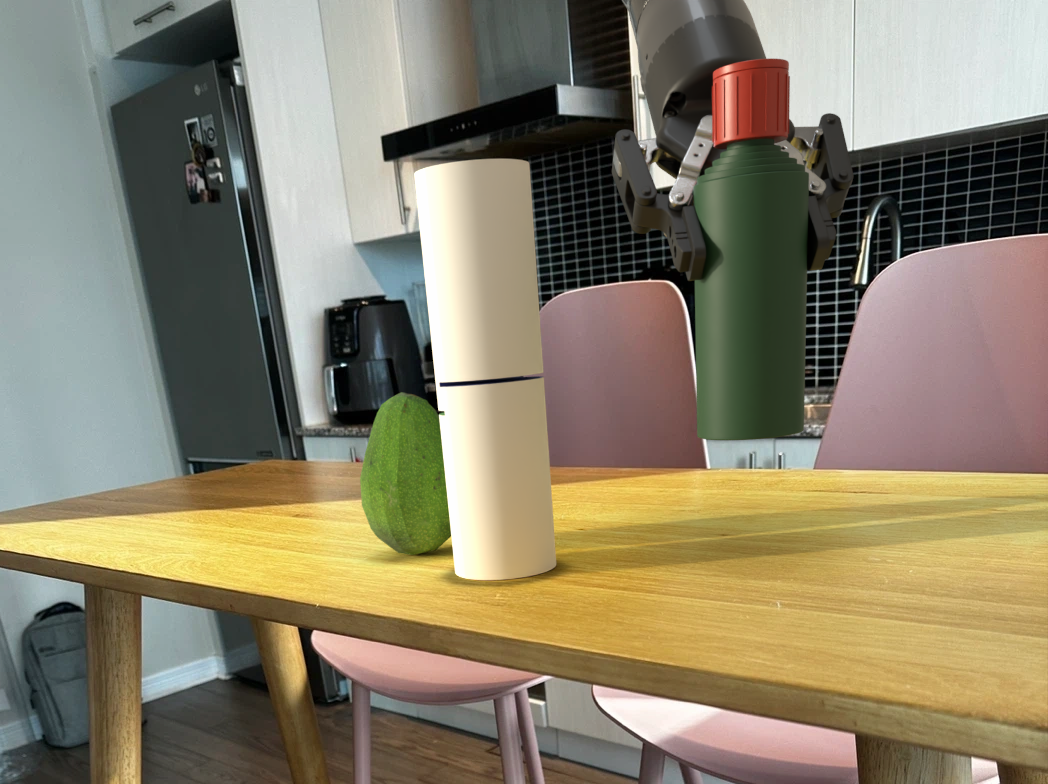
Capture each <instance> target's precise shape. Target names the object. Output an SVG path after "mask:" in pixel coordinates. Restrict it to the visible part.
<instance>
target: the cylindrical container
mask: <svg viewBox="0 0 1048 784" xmlns="http://www.w3.org/2000/svg"><path fill="white" fill-rule="evenodd" d="M530 167H531V166H530V162H529V161H527V160H523V159H519V158H518V159H517V158H481V159H468V160H460V161H452V162H445V163H440V164H435V165H429V166H426V167H423V168H421V169H418V170H416V171H415V172H414V173H413V176H414V187H415V193H416V195H415V196H416V205H417V206H416V207H417V214H418V223H419V234H420V245H421V254H422V263H423V273H424V283H425V294H426V303H427V312H428V321H429V322H428V323H429V331H430V342H431V350H432V351H431V352H432V360H433V361H432V362H433V369H434V380H435V381H434V382H435V389H436V399H437V408H438V412H440V413H439V414H438V416H439V420H440V429H441V439H442V449H443V459H444V468H445V478H446V488H447V498H448V507H449V517H450V527H451V537H450V538H451V545H452V555H453V565H454V573H455V575H456V576H458V577H459V578H463V579H468V580H476V581H503V580H513V579H520V578H521V579H522V578H526V577H527V578H528V577H532V576H536V575H541V574H544V573H547V572H549V571H551V570H553V569H554V568H556V566H557V553H556V552H557V551H556V539H555V538H556V537H555V521H554V507H553V495H552V479H551V478H552V477H551V464H550V462H551V461H550V448H549V447H550V446H549V435H548V432H549V431H548V421H547V420H548V419H547V403H546V388H545V377H544V376H541V375H540V376H539V374H543V373H544V359H543V345H542V344H543V343H542V331H541V316H540V315H541V314H540V300H539V299H540V297H539V285H538V284H539V283H538V271H537V270H538V269H537V256H536V239H535V225H534V212H533V211H534V209H533V196H532V195H533V194H532V181H531V168H530ZM531 375H532V376H531ZM533 375H537V376H533Z"/></svg>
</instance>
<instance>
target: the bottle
mask: <svg viewBox="0 0 1048 784" xmlns="http://www.w3.org/2000/svg"><path fill="white" fill-rule="evenodd" d="M805 165H806V164H805ZM805 165H802V164H797V159H796V158H791V157H789V152H786V151H781V146H780V145H774V139H753V140H745V141H740V142H735V143H731V144H729V145H727V151H724V152H722V153H721V154H720V159H717V160H715V161H713V162H712V167H709V168H707V169H706V170H705V175H702V176H700V177H698V178H697V184H696V185H694V187H693V203H694V206H695V209H696V213H697V216H698V220H699V224H700V228H701V231H702V235H703V239H704V242H705V246H706V260H705V265H704V270H703V274H702V278H701V280H694V307H695V308H694V319H695V320H694V324H695V327H694V329H695V378H696V379H695V381H696V382H695V383H696V386H695V387H696V388H695V389H696V436H697V438H698V439H702V440H708V441H749V440H750V441H752V440H763V439H775V438H781V437H787V436H792V435H796V434H800V433H803V431H804V430H805V397H806V396H805V390H806V344H807V343H806V341H807V340H806V339H807V338H806V337H807V297H808V296H807V295H808V294H807V292H808V270H807V248H808V199H809V173H808V172H805Z"/></svg>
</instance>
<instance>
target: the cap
mask: <svg viewBox="0 0 1048 784" xmlns="http://www.w3.org/2000/svg"><path fill="white" fill-rule="evenodd" d="M789 68H790V62H789V61H788V60H787V59H783V58H766V59H756V60H749V61H743V62H738V63H733V64H730V65H726V66H723V67H721V68H719V69H717V70H715V71H714V72H713V86H712V143H714V148H717V149H727V145H729V144H731V143H735V142H740V141H745V140H753V139H774V144H775V143H778V142H781V141H784V140H786V139H787V138H788V134H789V119H790V101H791V100H790V97H791V95H790V93H791V91H790V90H791V76H790V72H789V71H790V69H789Z"/></svg>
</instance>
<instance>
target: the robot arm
mask: <svg viewBox="0 0 1048 784" xmlns="http://www.w3.org/2000/svg"><path fill="white" fill-rule="evenodd" d="M621 2H622V3H623V5H624V6H625V8H626V10H627V11H628V16H629V21H630V24H631V28H632V32H633V36H634V40H635V43H636V48H637V61H638V62H637V63H638V71H639V76H640V77H639V79H640V87H641V90H642V92H643V95H644V96H645V99H646V103H647V107H648V110H649V115H650V119H651V123H652V127H653V131H654V135H655V137H654V138H652V137H651V138H647V139H640V140H638V138H637V134H636V133H635V132H634V131H632V130H631V129H626V128H625V129H621V130H620V129H619V130H618V131H617V132H616V133H615V137H614V138H615V139H614V146H613V147H614V148H613V158H612V166H611V167H612V168H611V174H612V177H613V180H614V183H615V186H616V188H617V191H618V194H619V196H620V200H621V202H622V205H623V208H624V210H625V213H626V215H627V218H628V221H629V224H630V227H631V229H632V231H633V232H635V233H636V234H640V235H646V234H649V232H651V231H652V229H654V230H657V231H661V232H662V233H663V235H664V236H665V238H666V239H667V243H668V246H669V251H670V254H671V258H672V262H673V266H674V268H675V269H676V270H677V272H678V273H685V275H686V279H687V281H688V282H692V281H695V280H701V278H702V274H703V270H704V265H705V260H706V246H705V242H704V239H703V235H702V231H701V228H700V224H699V220H698V216H697V213H696V209H695V206H694V203H693V187H694V185H696V184H697V178H698V177H700V176H702V175H705V170H706V169H707V168H709V167H712V162H713V161H715V160H717V159H720V154H721V153H722V152H724V151H727V149H717V148H714V143H712V86H713V72H714V71H715V70H717V69H719V68H721V67H723V66H726V65H730V64H733V63H738V62H743V61H749V60H756V59H767V56H766V53H765V50H764V46H763V44H762V42H761V41H762V40H761V38H760V35H759V33H758V29H757V26H756V24H755V20H754V18H753V16H752V13H751V11H750V9H749V7H748V5H747V4H746V2H745V0H621ZM774 145H780V146H781V151H786V152H789V157H791V158H796V159H797V164H802V165H805V172H808V173H809V199H808V248H807V272H810V271H821V270H822V269H823V267H824V264H825V261H828V260H829V259H830V256H831V253H832V250H833V248H834V244H835V241H836V238H837V230H836V227H835V226H834V225H835V224H834V221H833V219H835V218H838V217H840V216H841V214H842V212H843V210H844V204H845V201H846V198H847V195H848V192H849V190H850V187H851V186H852V183H853V181H854V180H853V179H854V178H855V177H854V171H853V167H852V162H851V158H850V155H849V149H848V146H847V140H846V137H845V132H844V128H843V123H842V119H841V118H840V116H839V115H837V114H836V113H831V112H830V113H828V112H827V113H824V114H822V115H821V117H820V120H819V123H818V126H795V124H794V123H793V121H792V120H791V119H790V118H789V134H788V138H787V139H786V140H784V141H781V142H778V143H775V144H774ZM804 161H805V162H804ZM654 163H655V164H656V166H657V167H658V168H659V169H660V170H662V171H663V172H665V173H666V174H668V175H669V176H670V177H672V179H675V181H674V183H673V185H672V187H671V189H670V191H669V194H665V193H664V194H663V193H658V190H657V187H656V184H655V182H654V179H653V177H652V175H651V166H652V164H654Z"/></svg>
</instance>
